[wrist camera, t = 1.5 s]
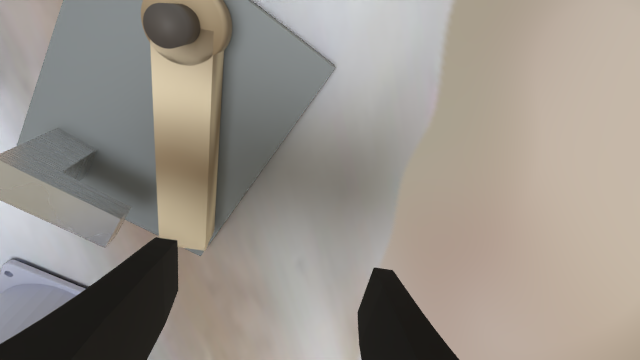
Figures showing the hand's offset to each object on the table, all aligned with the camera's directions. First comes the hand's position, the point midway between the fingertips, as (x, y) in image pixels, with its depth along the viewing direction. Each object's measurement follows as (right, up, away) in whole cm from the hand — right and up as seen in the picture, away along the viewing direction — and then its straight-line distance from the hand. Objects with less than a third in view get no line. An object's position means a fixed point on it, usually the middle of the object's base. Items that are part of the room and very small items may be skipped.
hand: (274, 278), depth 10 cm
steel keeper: (-10, +4, +7) cm, 13 cm away
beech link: (-5, +6, +6) cm, 10 cm away
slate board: (-6, +7, +7) cm, 12 cm away
